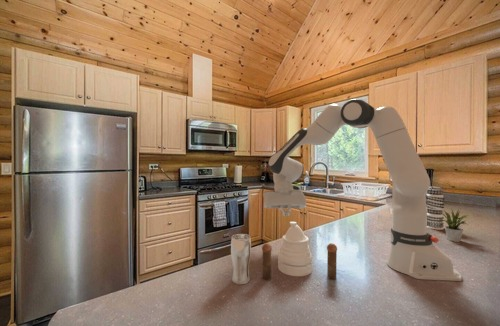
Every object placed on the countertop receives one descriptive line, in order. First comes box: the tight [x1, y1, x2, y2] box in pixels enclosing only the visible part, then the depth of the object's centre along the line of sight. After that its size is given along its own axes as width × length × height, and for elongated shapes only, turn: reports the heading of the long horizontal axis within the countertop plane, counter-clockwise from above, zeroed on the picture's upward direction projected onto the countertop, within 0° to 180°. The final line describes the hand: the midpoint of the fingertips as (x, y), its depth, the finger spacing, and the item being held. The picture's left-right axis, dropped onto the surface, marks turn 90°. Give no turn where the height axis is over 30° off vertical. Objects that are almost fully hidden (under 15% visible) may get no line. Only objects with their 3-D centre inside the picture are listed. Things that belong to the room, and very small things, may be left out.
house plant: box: [440, 208, 470, 243], centre depth 121 cm, size 14×14×16 cm
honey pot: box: [277, 221, 313, 277], centre depth 91 cm, size 13×13×18 cm
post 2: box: [326, 242, 338, 280], centre depth 83 cm, size 3×3×12 cm
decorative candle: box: [425, 185, 445, 231], centre depth 144 cm, size 9×9×25 cm
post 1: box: [261, 243, 272, 281], centre depth 83 cm, size 3×3×12 cm
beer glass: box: [230, 233, 252, 285], centre depth 81 cm, size 7×7×15 cm
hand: (286, 215), depth 110 cm, fingers closed
